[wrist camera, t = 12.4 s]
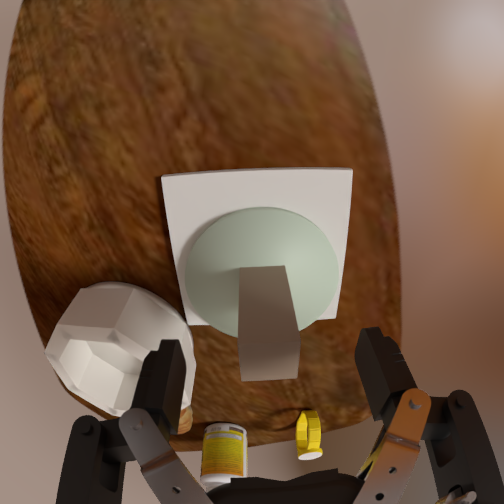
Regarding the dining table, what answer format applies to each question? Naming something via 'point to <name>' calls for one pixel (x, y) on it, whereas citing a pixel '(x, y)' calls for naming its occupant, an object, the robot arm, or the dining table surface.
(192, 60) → the dining table surface
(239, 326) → the lid
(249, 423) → the dining table surface
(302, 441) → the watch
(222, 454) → the supplement bottle
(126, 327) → the bowl
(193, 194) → the mat
